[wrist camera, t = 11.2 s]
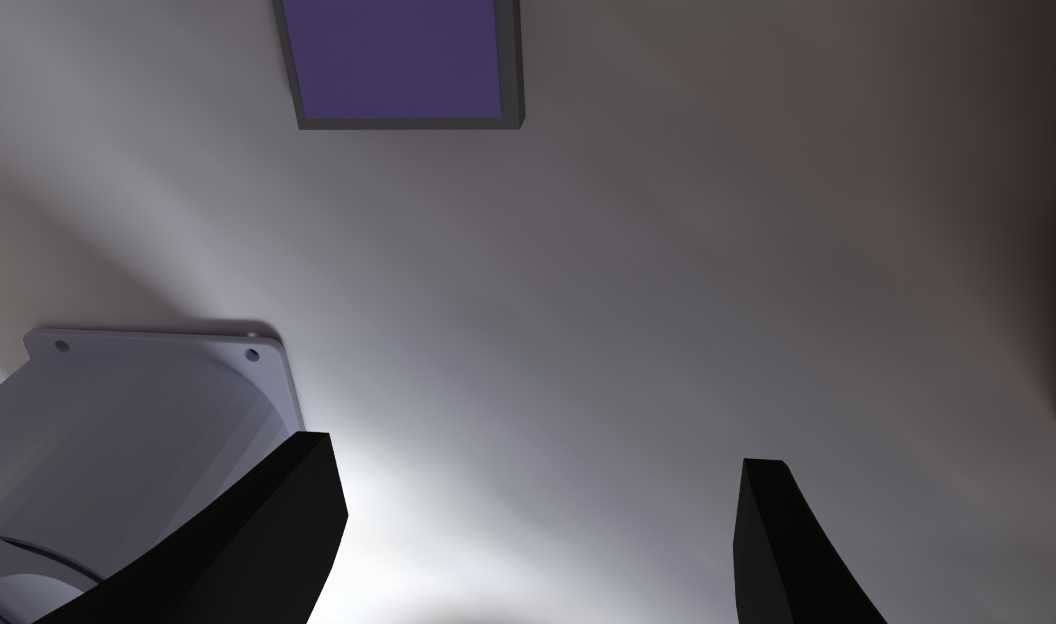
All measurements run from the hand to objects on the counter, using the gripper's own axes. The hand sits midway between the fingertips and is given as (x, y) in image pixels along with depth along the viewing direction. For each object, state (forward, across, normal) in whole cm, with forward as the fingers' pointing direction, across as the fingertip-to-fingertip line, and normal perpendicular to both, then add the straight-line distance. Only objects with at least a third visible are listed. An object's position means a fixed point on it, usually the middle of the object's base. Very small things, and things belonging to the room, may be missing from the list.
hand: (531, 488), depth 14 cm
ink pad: (+10, +4, -6) cm, 13 cm away
